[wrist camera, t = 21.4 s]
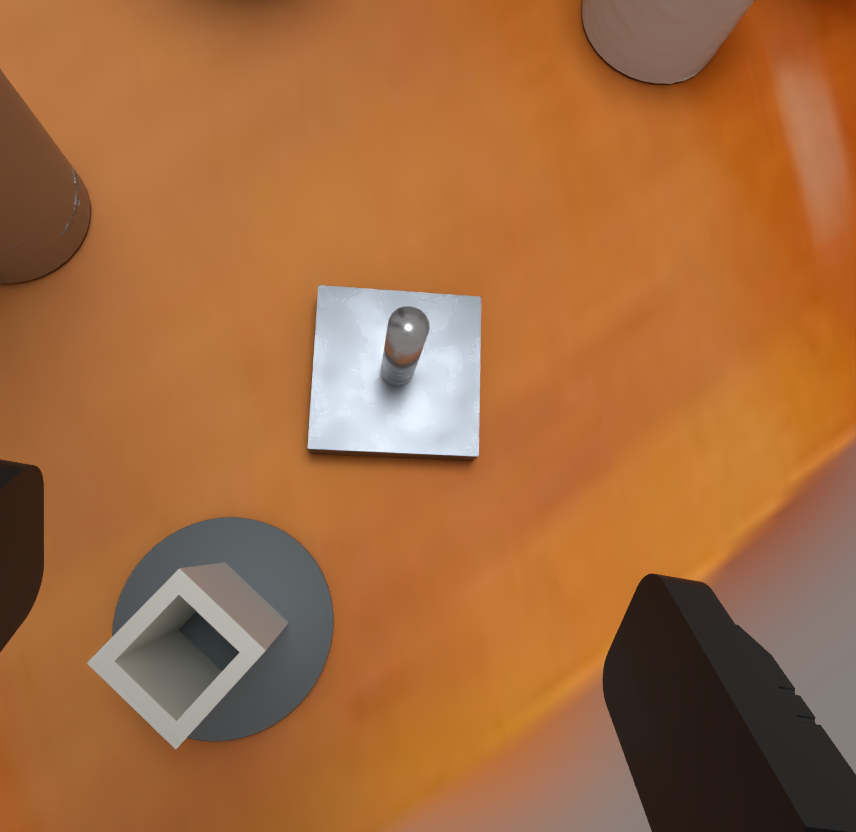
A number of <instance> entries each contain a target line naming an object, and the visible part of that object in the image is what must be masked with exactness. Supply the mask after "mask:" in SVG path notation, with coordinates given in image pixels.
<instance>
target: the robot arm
mask: <svg viewBox="0 0 856 832" xmlns="http://www.w3.org/2000/svg"><path fill="white" fill-rule="evenodd" d="M89 221H90V201H89V197H88V192H87V190H86V187H85V185H84V183H83V181H82V179H81V178H80V176H79V175H78V174H77V172H76V171H75V170H74V168H73V167H72V166H71V164H70V163H69V161H68V160H67V159H66V157H65V156H64V155H63V153H62V152H61V151H60V149H59V148H58V147H57V145H56V144H55V143H54V141H53V139H52V138H51V137H50V135H49V134H48V133H47V131H46V130H45V129H44V127H43V126H42V125H41V123H40V122H39V121H38V119H37V118H36V116H35V115H34V114H33V112H32V111H31V110H30V108H29V107H28V106H27V104H26V103H25V102H24V100H23V99H22V98H21V96H20V95H19V94H18V92H17V91H16V89H15V88H14V87H13V85H12V84H11V83H10V81H9V80H8V79H7V77H6V76H5V75H4V73H3V72H2V71H1V69H0V283H7V284H8V283H17V282H25V281H28V280H32V279H35V278H39V277H41V276H43V275H45V274H47V273H49V272H51V271H53V270H55V269H57V268H58V267H59V266H60V265H62V264H63V263H64V262H66V261H67V260H68V259H69V258H70V257H71V256H72V255H73V253H74V252H75V251H76V250H77V249H78V247H79V246H80V244H81V242H82V240H83V238H84V237H85V235H86V232H87V229H88V225H89ZM43 570H44V483H43V476H42V473H41V471H40V469H39V468H38V467H37V466H34V465H28V464H23V463H17V462H11V461H5V460H0V652H1V651H2V649H3V648H4V647H5V645H6V644H7V643H8V641H9V640H10V639H11V637H12V636H13V635H14V633H15V632H16V631H17V629H18V628H19V627H20V625H21V624H22V623H23V621H24V620H25V619H26V617H27V616H28V614H29V612H30V610H31V609H32V607H33V605H34V602H35V600H36V598H37V595H38V592H39V589H40V586H41V582H42V577H43ZM603 692H604V698H605V702H606V705H607V708H608V710H609V713H610V716H611V719H612V722H613V725H614V727H615V730H616V733H617V735H618V738H619V741H620V744H621V747H622V750H623V752H624V755H625V758H626V761H627V763H628V766H629V769H630V772H631V775H632V777H633V780H634V783H635V786H636V788H637V791H638V794H639V797H640V800H641V802H642V805H643V808H644V811H645V814H646V816H647V819H648V822H649V825H650V827H651V830H652V832H856V775H855V773H854V772H853V770H852V769H851V767H850V766H849V765H848V763H847V762H846V761H845V759H844V758H843V756H842V755H841V753H840V752H839V750H838V749H837V748H836V746H835V745H834V743H833V742H832V741H831V739H830V738H829V736H828V735H827V733H826V732H825V730H824V729H823V728H822V726H821V725H816V724H815V716H814V715H813V714H812V712H811V711H810V709H809V708H808V706H807V705H806V703H805V702H804V701H803V699H802V698H801V696H799V695H795V688H794V686H793V685H792V684H791V682H790V681H789V679H788V678H787V677H786V675H785V674H784V672H783V671H782V669H781V668H780V667H779V665H778V664H777V662H776V661H775V660H774V658H773V657H772V655H771V654H770V653H768V652H767V651H766V650H765V649H764V648H763V647H762V646H761V645H760V644H758V643H757V642H756V641H755V640H754V639H753V638H752V637H751V636H750V635H749V634H747V633H746V632H745V631H744V630H743V629H742V628H741V627H740V626H739V625H735V623H734V622H733V621H732V619H731V618H730V616H729V615H728V613H727V612H726V610H725V609H724V607H723V606H722V604H721V603H720V601H719V600H718V598H717V597H716V595H715V594H714V592H713V591H712V589H711V588H710V587H709V586H708V585H707V584H705V583H703V582H699V581H693V580H687V579H681V578H675V577H670V576H664V575H658V574H648V575H646V576H645V577H644V578H643V579H642V580H641V581H640V583H639V585H638V587H637V589H636V591H635V593H634V595H633V598H632V600H631V602H630V604H629V607H628V609H627V611H626V613H625V616H624V618H623V620H622V622H621V625H620V627H619V629H618V631H617V633H616V636H615V638H614V640H613V642H612V645H611V647H610V649H609V651H608V654H607V656H606V660H605V664H604V670H603Z"/></svg>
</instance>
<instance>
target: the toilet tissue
mask: <svg viewBox="0 0 856 832" xmlns="http://www.w3.org/2000/svg"><path fill="white" fill-rule="evenodd" d="M754 1H755V0H583V3H582V19H583V24H584V29H585V31H586V34H587V36H588V38H589V41H590V42H591V44H592V45H593V47H594V48H595V50H596V51H597V53H598V54H599V55H600V56H601V57H602V58H603V59H604V60H605V61H606V62H607V63H608V64H610V65H611V66H612V67H614V68H615V69H616V70H618V71H620V72H622V73H623V74H625V75H627V76H629V77H631V78H635V79H638V80H641V81H644V82H650V83H657V84H658V83H665V84H673V83H675V82H679V81H685V80H687V79H689V78H691V77H693V76H695V75H696V74H697V73H698V72H699V71H700V70H702V69H703V68H704V67H705V65H706V64H707V63H708V62H709V61H710V60H711V58H712V57H713V56H714V55H715V54H716V52H717V50H718V48H719V47H720V46H721V44H722V43H723V42H724V40H725V39H726V38H727V37H728V36H729V34H730V32H732V30H733V29H734V28H735V27H736V25H737V23H738V21H739V20H740V19H741V17H742V16H743V15H744V14H745V13H746V11H747V9H748V8H749V7H750V5H751V4H752V3H753V2H754Z"/></svg>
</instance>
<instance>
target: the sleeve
mask: <svg viewBox="0 0 856 832" xmlns="http://www.w3.org/2000/svg"><path fill="white" fill-rule="evenodd" d="M196 611H197V612H198V613H199V614H200V615H201V616H202V617H203V618H204V619H205V620H206V621H207V622H208V623H209V624H210V625H211V626H213V627H214V628H215V629H216V630H217V631H218V632H219V633H220V634H221V635H222V636H223V637H224V638H225V639H226V640H227V641H228V642H229V643H230V644H231V645H232V646H234V647H235V648H236V649H237V650H238V651H239V652H240V653H239V654H238V655H237V656H236V657H235V658H234V659H233V660H232V661H231V662H230V663H229V665H228V666H227V667H226V668H225V669H224V670H223V671H221V670H220V669H219V668H218V667H217V666H216V665H215V664H214V663H213V662H212V661H211V660H210V659H208V658H207V657H206V656H205V655H204V654H203V653H202V652H201V651H200V650H199V649H198V648H197V647H196V646H195V645H194V644H193V643H192V642H191V641H190V640H189V639H188V638H187V637H186V636H184V635H183V634H182V633H181V632H180V631H179V629H180V628H181V627H182V626H183V625H184V624H185V623H186V622H187V621H188V620H189V619H190V618H191V616H192V615H193V614H194V613H195V612H196ZM288 623H289V622H288V621H287V620H286V619H285V618H283V617H282V616H281V615H280V614H279V613H278V612H277V611H276V610H275V609H274V608H273V607H272V606H271V605H270V604H269V603H268V602H267V601H265V600H264V599H263V598H262V597H261V596H260V595H259V594H258V593H257V592H256V591H255V590H254V589H253V588H252V587H251V586H250V585H249V584H248V583H246V582H245V581H244V580H243V579H242V578H241V577H240V576H239V575H238V574H237V573H236V572H235V571H234V570H233V569H232V568H231V567H230V566H228V565H227V564H226V563H225V562H223V563H216V564H208V565H201V566H193V567H186V568H179V569H178V570H177V571H176V572H175V573H174V574H173V575H172V576H171V577H170V578H169V580H168V581H167V582H166V583H165V584H164V585H163V586H162V587H161V588H160V589H159V590H158V591H157V592H156V593H155V594H154V595H153V596H152V597H151V598H150V599H149V600H148V601H147V602H146V603H145V604H144V605H143V606H142V607H141V608H140V609H139V610H138V611H137V612H136V613H135V614H134V615H133V616H132V617H131V618H130V619H129V620H128V621H127V622H126V623H125V624H124V626H123V627H122V628H121V629H120V630H119V631H118V632H117V633H116V634H115V635H114V636H113V637H112V638H111V639H110V640H109V641H108V642H107V643H106V644H105V645H104V646H103V647H102V648H101V649H100V650H99V651H98V652H97V653H96V654H95V655H94V656H93V657H92V658H91V659H90V660H89V661H88V662H87V664H88V665H89V666H90V667H91V668H92V669H93V670H94V671H95V672H96V673H97V674H98V675H99V676H100V677H101V678H102V679H103V680H104V681H106V682H107V683H108V684H109V685H110V686H111V687H112V688H113V689H114V690H115V691H116V692H117V693H118V694H119V695H120V696H121V697H122V698H123V699H124V700H125V701H126V702H127V703H128V704H129V705H130V706H131V707H132V708H133V709H134V710H135V711H136V712H137V713H139V714H140V715H141V716H142V717H143V718H144V719H145V720H146V721H147V722H148V723H149V724H150V725H151V726H152V727H153V728H154V729H155V730H156V731H157V732H158V733H159V734H160V735H161V736H162V737H163V738H164V739H165V740H166V741H167V742H168V743H169V744H170V745H171V746H173V747H174V748H175V749H177V748H178V747H179V746H180V745H181V743H182V742H183V741H184V740H185V739H186V738H187V737H188V736H189V735H190V734H191V732H192V731H193V730H194V729H195V728H196V727H197V726H198V725H199V724H200V723H201V721H202V720H203V719H204V718H205V717H206V716H207V715H208V714H209V713H210V711H211V710H212V709H213V708H214V707H215V706H216V705H217V704H218V703H219V702H220V700H221V699H222V698H223V697H224V696H225V695H226V694H227V693H228V692H229V691H230V689H231V688H232V687H233V686H234V685H235V684H236V683H237V682H238V681H239V680H240V678H241V677H242V676H243V675H244V674H245V673H246V672H247V671H248V670H249V669H250V667H251V666H252V665H253V664H254V663H255V662H256V661H257V660H258V659H259V658H260V656H261V655H262V654H263V653H264V652H265V651H266V650H267V649H268V647H269V646H270V645H271V644H272V643H273V641H274V640H275V639H276V638H277V636H278V635H279V634H280V633H281V632H282V630H283V629H284V628H285V627H286V626H287V624H288Z"/></svg>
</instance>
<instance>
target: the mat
mask: <svg viewBox="0 0 856 832" xmlns="http://www.w3.org/2000/svg"><path fill="white" fill-rule="evenodd" d="M223 562H225V563H226V564H227V565H228V566H230V567H231V568H232V569H233V570H234V571H235V572H236V573H237V574H238V575H239V576H240V577H241V578H242V579H243V580H244V581H245V582H246V583H248V584H249V585H250V586H251V587H252V588H253V589H254V590H255V591H256V592H257V593H258V594H259V595H260V596H261V597H262V598H263V599H264V600H265V601H267V602H268V603H269V604H270V605H271V606H272V607H273V608H274V609H275V610H276V611H277V612H278V613H279V614H280V615H281V616H282V617H283V618H285V619H286V620H287V621H288V622H289V623H288V624H287V626H286V627H285V628H284V629H283V630H282V632H281V633H280V634H279V635H278V636H277V638H276V639H275V640H274V641H273V643H272V644H271V645H270V646H269V647H268V649H267V650H266V651H265V652H264V653H263V654H262V655H261V656H260V658H259V659H258V660H257V661H256V662H255V663H254V664H253V665H252V666H251V667H250V669H249V670H248V671H247V672H246V673H245V674H244V675H243V676H242V677H241V678H240V680H239V681H238V682H237V683H236V684H235V685H234V686H233V687H232V688H231V689H230V691H229V692H228V693H227V694H226V695H225V696H224V697H223V698H222V699H221V700H220V702H219V703H218V704H217V705H216V706H215V707H214V708H213V709H212V710H211V711H210V713H209V714H208V715H207V716H206V717H205V718H204V719H203V720H202V721H201V723H200V724H199V725H198V726H197V727H196V728H195V729H194V730H193V731H192V732H191V734H190V735H189V736H188V737H187V738H191V739H196V740H201V741H228V740H234V739H239V738H244V737H247V736H250V735H253V734H256V733H258V732H261V731H263V730H265V729H267V728H269V727H271V726H272V725H274V724H275V723H277V722H278V721H280V720H281V719H283V718H284V717H286V716H287V715H288V714H289V713H290V712H291V711H293V710H294V709H295V708H296V707H297V706H298V705H299V704H300V703H301V702H302V701H303V699H304V698H305V697H306V696H307V695H308V693H309V692H310V690H311V689H312V688H313V686H314V685H315V683H316V681H317V679H318V678H319V676H320V674H321V672H322V670H323V667H324V665H325V662H326V660H327V657H328V653H329V649H330V645H331V641H332V633H333V607H332V600H331V595H330V592H329V588H328V585H327V582H326V580H325V577H324V575H323V573H322V571H321V569H320V568H319V566H318V564H317V562H316V561H315V560H314V558H313V557H312V556H311V554H310V553H309V552H308V551H307V550H306V549H305V548H304V547H303V546H302V545H301V544H300V543H299V542H298V541H297V540H295V539H294V538H293V537H291V536H290V535H289V534H287V533H285V532H284V531H282V530H280V529H278V528H276V527H274V526H271V525H269V524H266V523H263V522H260V521H255V520H251V519H245V518H235V517H232V518H216V519H210V520H205V521H202V522H198V523H195V524H192V525H189V526H187V527H185V528H182V529H180V530H178V531H176V532H175V533H173V534H171V535H170V536H168V537H166V538H165V539H164V540H162V541H161V542H160V543H158V544H157V545H156V546H155V547H153V548H152V549H151V550H150V551H149V552H148V553H147V554H146V555H145V556H144V557H143V559H142V560H141V561H140V562H139V564H138V565H137V566H136V567H135V569H134V570H133V572H132V573H131V575H130V577H129V578H128V580H127V582H126V584H125V586H124V588H123V590H122V592H121V594H120V597H119V601H118V604H117V607H116V610H115V616H114V621H113V633H112V637H113V636H114V635H115V634H116V633H117V632H118V631H119V630H120V629H121V628H122V627H123V626H124V624H125V623H126V622H127V621H128V620H129V619H130V618H131V617H132V616H133V615H134V614H135V613H136V612H137V611H138V610H139V609H140V608H141V607H142V606H143V605H144V604H145V603H146V602H147V601H148V600H149V599H150V598H151V597H152V596H153V595H154V594H155V593H156V592H157V591H158V590H159V589H160V588H161V587H162V586H163V585H164V584H165V583H166V582H167V581H168V580H169V578H170V577H171V576H172V575H173V574H174V573H175V572H176V571H177V570H178V569H179V568H186V567H193V566H201V565H208V564H216V563H223ZM179 631H180V632H181V633H182V634H183V635H184V636H186V637H187V638H188V639H189V640H190V641H191V642H192V643H193V644H194V645H195V646H196V647H197V648H198V649H199V650H200V651H201V652H202V653H203V654H204V655H205V656H206V657H207V658H208V659H210V660H211V661H212V662H213V663H214V664H215V665H216V666H217V667H218V668H219V669H220V670H221V671H223V670H224V669H225V668H226V667H227V666H228V665H229V663H230V662H231V661H232V660H233V659H234V658H235V657H236V656H237V655H238V654H239V653H240V652H239V651H238V650H237V649H236V648H235V647H234V646H232V645H231V644H230V643H229V642H228V641H227V640H226V639H225V638H224V637H223V636H222V635H221V634H220V633H219V632H218V631H217V630H216V629H215V628H214V627H213V626H211V625H210V624H209V623H208V622H207V621H206V620H205V619H204V618H203V617H202V616H201V615H200V614H199V613H198V612H197V611H196V612H195V613H194V614H193V615H192V616H191V618H190V619H189V620H188V621H187V622H186V623H185V624H184V625H183V626H182V627H181V628H180V629H179Z"/></svg>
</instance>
